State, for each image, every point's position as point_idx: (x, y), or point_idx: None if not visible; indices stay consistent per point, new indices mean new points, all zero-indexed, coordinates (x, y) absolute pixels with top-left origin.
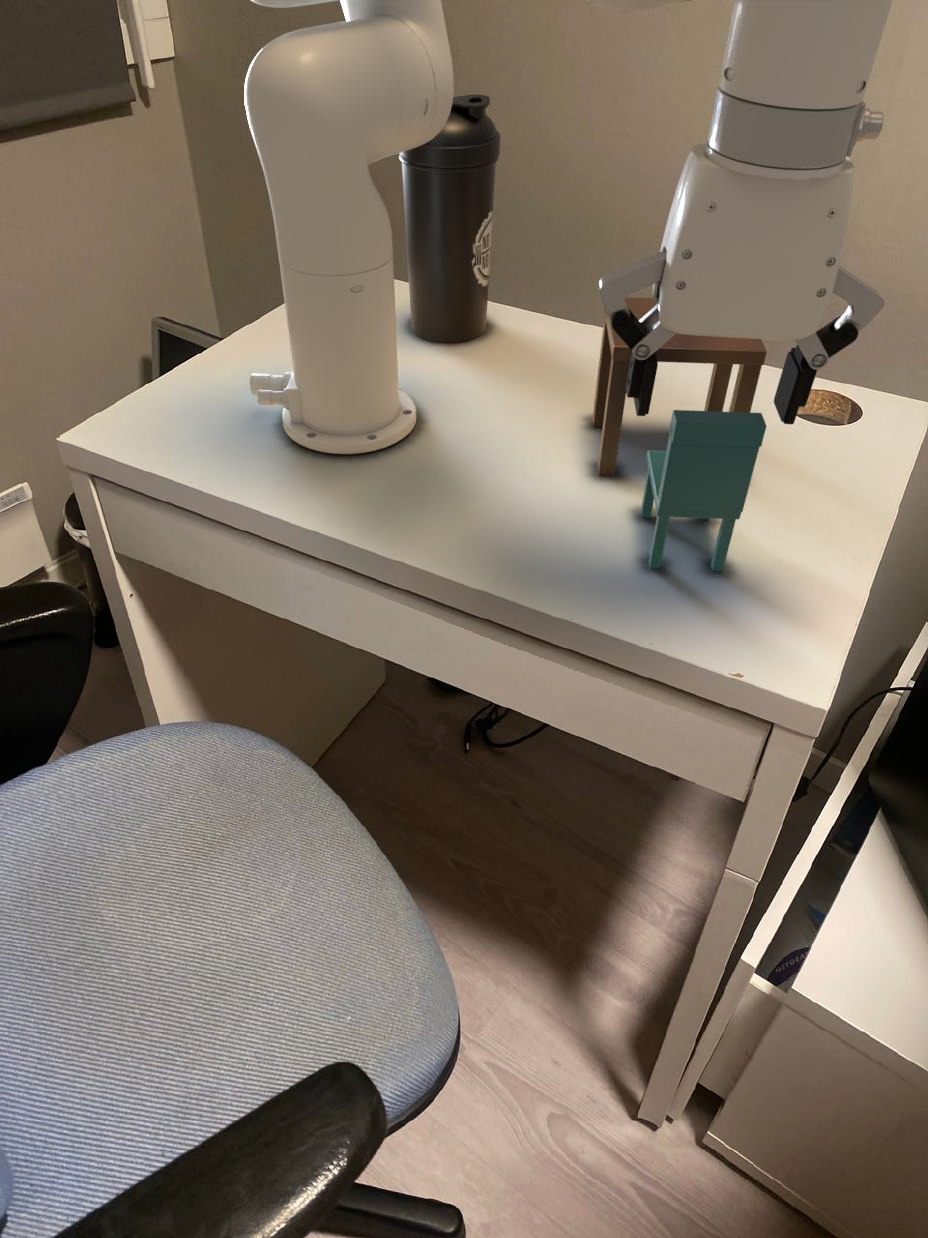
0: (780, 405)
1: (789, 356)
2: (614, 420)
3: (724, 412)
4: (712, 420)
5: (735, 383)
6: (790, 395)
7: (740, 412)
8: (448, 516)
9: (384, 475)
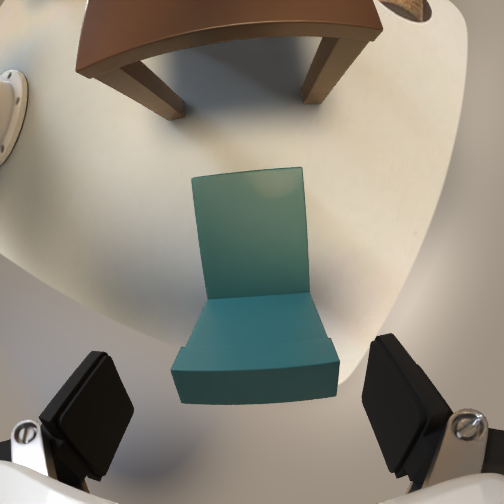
0: (370, 383)
1: (412, 428)
2: (150, 100)
3: (267, 372)
4: (242, 395)
5: (322, 37)
6: (376, 435)
7: (299, 368)
8: (58, 227)
9: (18, 182)
